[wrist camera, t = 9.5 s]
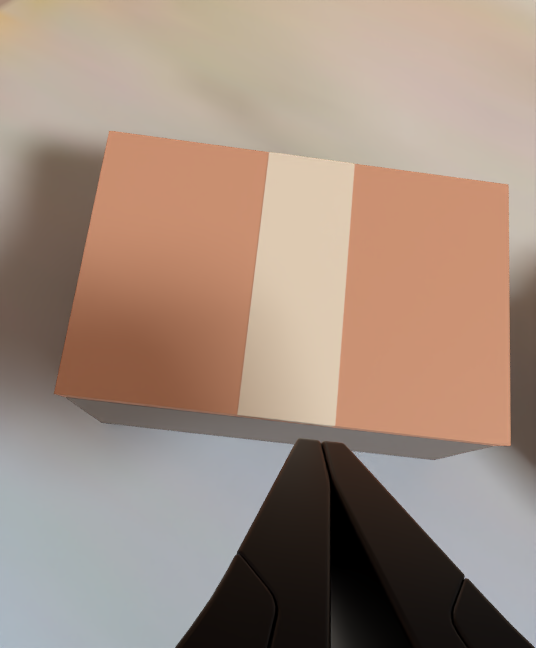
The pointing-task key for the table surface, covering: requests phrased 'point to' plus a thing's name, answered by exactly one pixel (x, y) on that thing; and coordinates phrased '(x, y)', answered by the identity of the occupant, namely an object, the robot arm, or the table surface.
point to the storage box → (270, 430)
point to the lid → (294, 292)
